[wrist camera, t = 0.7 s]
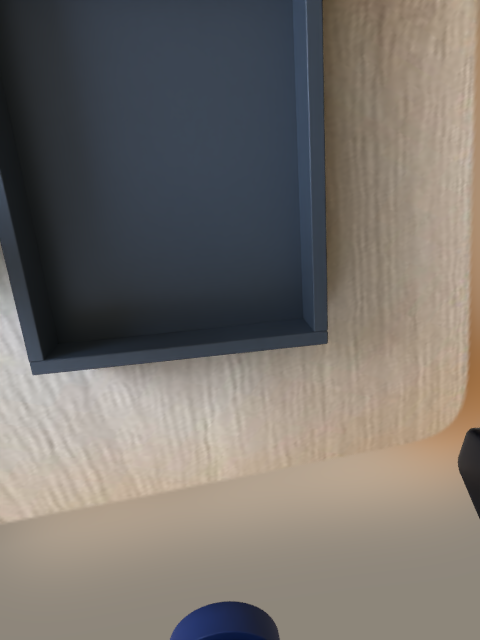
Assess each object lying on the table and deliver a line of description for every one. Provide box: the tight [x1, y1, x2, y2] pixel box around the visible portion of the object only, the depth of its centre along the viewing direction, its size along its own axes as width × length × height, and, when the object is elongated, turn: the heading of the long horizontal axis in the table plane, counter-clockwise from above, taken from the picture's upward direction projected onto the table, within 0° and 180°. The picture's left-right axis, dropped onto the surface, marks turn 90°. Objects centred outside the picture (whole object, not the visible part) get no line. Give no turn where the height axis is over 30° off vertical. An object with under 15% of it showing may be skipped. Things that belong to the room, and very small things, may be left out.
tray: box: [0, 0, 328, 375], centre depth 17 cm, size 15×12×2 cm
